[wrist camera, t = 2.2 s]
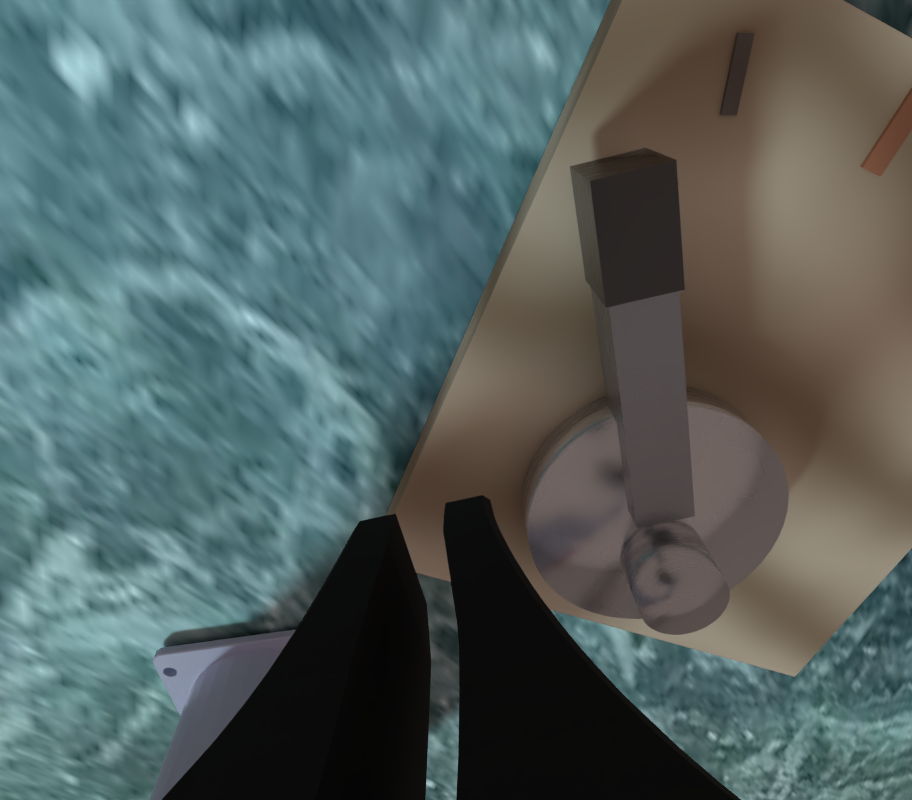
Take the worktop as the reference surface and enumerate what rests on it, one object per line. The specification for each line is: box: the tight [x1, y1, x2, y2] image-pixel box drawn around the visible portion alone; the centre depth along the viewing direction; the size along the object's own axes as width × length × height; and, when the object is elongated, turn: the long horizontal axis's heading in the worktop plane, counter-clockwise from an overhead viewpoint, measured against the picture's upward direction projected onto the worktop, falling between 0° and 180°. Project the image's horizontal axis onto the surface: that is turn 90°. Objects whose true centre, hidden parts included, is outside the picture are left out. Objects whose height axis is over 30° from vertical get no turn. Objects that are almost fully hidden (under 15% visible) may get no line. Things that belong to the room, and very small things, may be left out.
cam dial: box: [522, 148, 789, 635], centre depth 18 cm, size 15×8×4 cm, turn 13°
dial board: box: [385, 0, 912, 677], centre depth 21 cm, size 20×18×1 cm
